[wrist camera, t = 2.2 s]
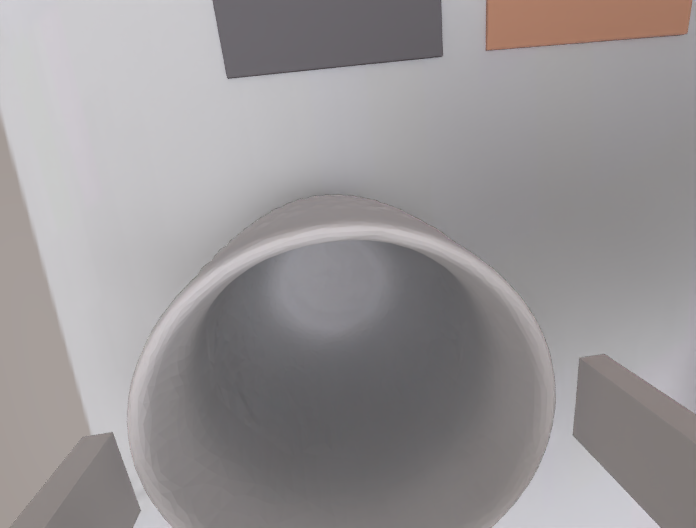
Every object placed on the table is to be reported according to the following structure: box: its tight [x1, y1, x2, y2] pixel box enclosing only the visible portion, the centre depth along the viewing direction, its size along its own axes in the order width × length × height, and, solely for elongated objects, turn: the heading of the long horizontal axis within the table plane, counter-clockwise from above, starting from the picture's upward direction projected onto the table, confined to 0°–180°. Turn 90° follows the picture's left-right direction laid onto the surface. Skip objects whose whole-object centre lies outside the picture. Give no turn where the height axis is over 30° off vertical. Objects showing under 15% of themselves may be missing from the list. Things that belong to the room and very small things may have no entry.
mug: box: [127, 194, 556, 528], centre depth 16 cm, size 15×11×13 cm
